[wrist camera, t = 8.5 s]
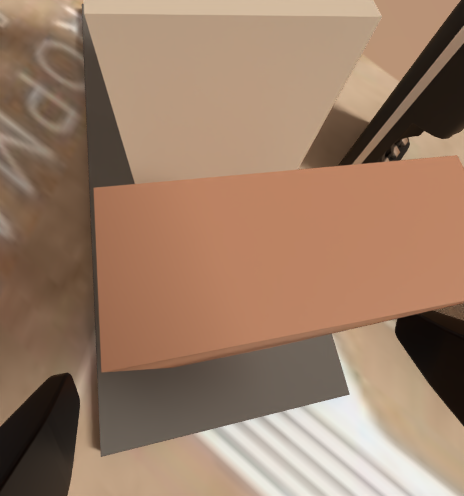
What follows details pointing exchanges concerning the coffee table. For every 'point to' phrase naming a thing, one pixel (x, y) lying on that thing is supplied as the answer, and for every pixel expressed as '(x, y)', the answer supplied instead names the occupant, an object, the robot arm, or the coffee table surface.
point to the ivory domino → (224, 79)
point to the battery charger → (420, 99)
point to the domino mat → (197, 374)
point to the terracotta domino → (273, 257)
